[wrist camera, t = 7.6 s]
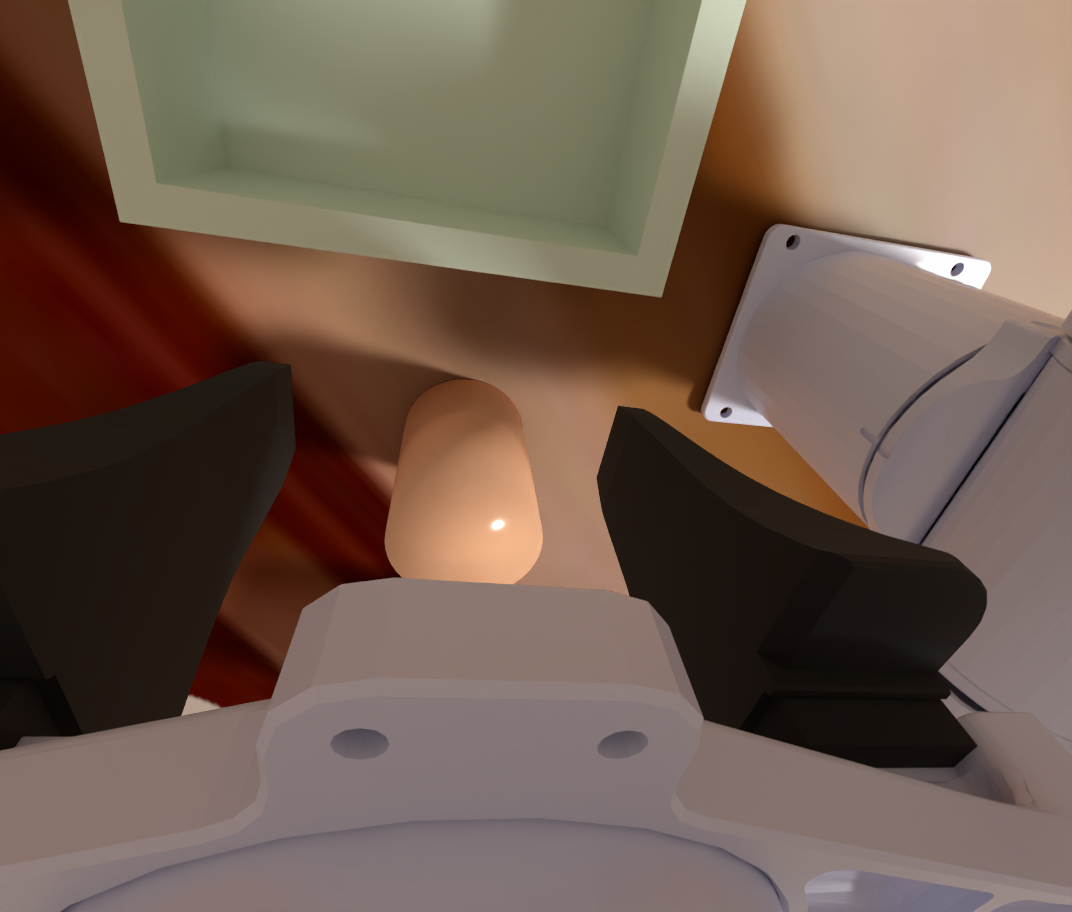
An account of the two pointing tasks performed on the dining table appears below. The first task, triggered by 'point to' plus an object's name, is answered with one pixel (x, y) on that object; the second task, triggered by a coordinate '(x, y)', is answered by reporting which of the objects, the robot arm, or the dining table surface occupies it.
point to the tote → (415, 126)
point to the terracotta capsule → (463, 489)
